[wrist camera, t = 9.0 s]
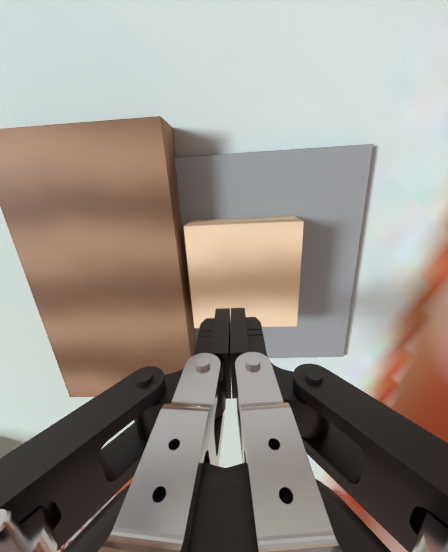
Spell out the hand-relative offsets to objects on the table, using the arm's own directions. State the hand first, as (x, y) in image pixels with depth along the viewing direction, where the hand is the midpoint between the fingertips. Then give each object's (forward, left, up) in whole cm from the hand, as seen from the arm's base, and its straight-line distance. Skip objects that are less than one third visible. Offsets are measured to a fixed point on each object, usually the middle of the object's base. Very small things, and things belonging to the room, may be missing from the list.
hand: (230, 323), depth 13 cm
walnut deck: (0, -10, -9) cm, 13 cm away
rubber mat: (0, +3, -9) cm, 9 cm away
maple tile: (0, +1, -9) cm, 9 cm away
